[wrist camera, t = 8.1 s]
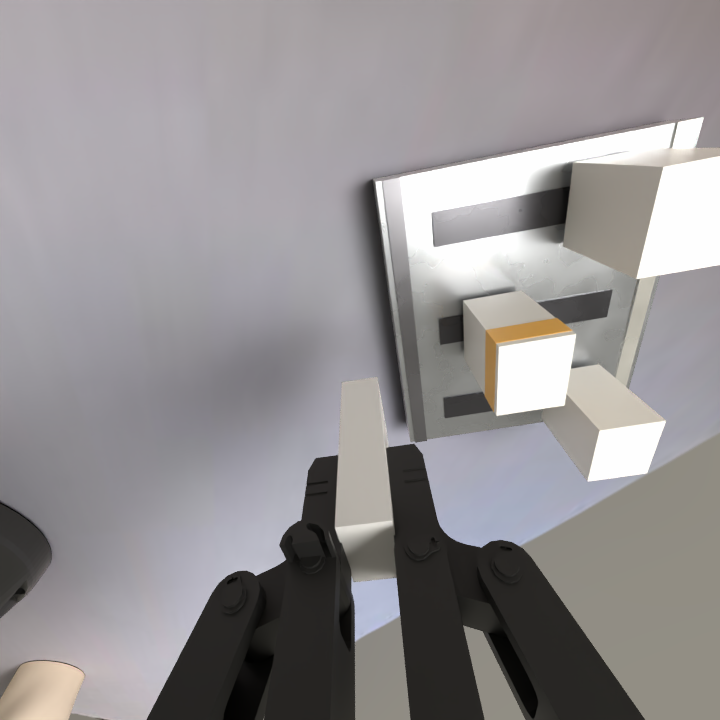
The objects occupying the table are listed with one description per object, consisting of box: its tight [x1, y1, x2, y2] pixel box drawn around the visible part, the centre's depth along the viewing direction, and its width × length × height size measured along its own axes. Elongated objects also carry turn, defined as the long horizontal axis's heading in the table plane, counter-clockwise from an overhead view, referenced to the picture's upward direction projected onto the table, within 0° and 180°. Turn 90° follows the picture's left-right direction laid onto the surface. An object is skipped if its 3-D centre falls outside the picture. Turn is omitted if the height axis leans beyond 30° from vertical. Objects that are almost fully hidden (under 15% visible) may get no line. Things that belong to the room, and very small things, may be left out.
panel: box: [373, 117, 704, 442], centre depth 20 cm, size 14×16×2 cm
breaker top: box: [563, 148, 720, 279], centre depth 14 cm, size 3×4×5 cm
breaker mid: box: [463, 290, 576, 416], centre depth 17 cm, size 3×4×5 cm
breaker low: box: [542, 364, 666, 482], centre depth 19 cm, size 3×4×5 cm
